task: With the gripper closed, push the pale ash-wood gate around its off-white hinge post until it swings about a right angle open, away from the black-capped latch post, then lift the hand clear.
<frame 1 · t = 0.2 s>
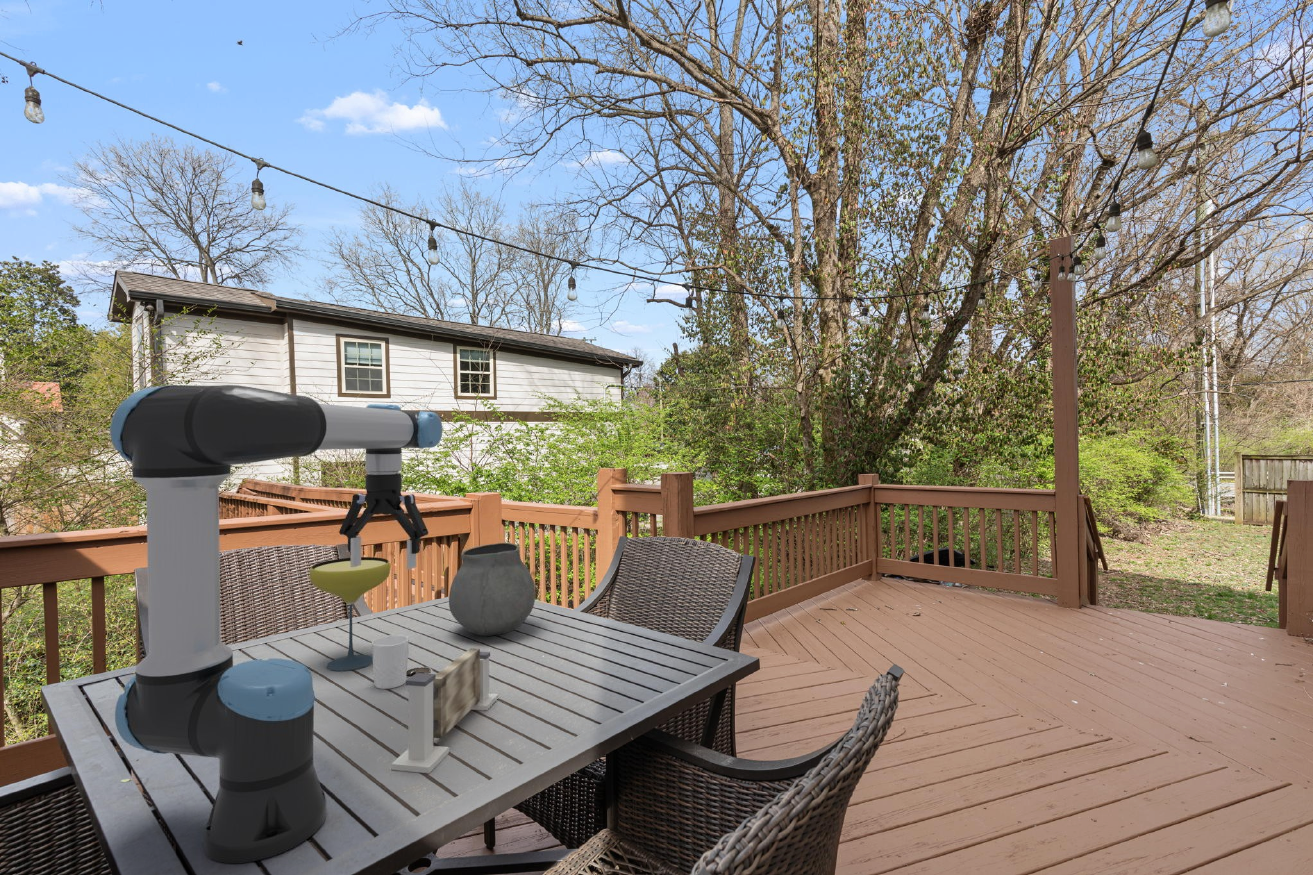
hand: (383, 567, 141), 28 cm above the table, tool pointing down, fingers open, 13 cm apart
white cup: (390, 684, 145), on the table
ceramic pot: (492, 633, 182), on the table
gate: (453, 693, 122), point 7 cm above the table, hinge at 0.0°
hinge post: (420, 760, 110), on the table
cocktail glass: (350, 664, 157), on the table
latch post: (479, 703, 134), on the table
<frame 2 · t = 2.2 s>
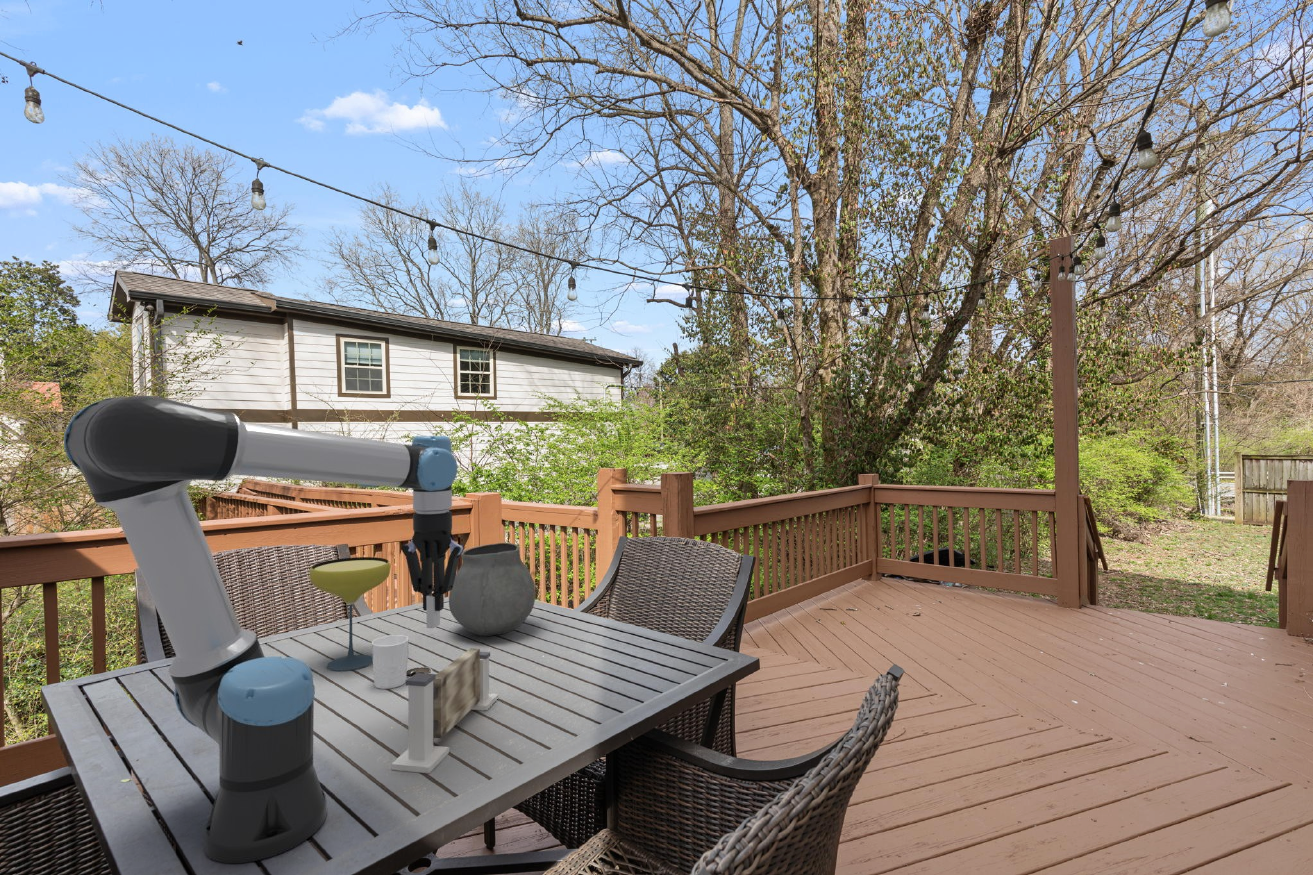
hand: (433, 626, 128), 18 cm above the table, tool pointing down, fingers closed
nothing on the table moved.
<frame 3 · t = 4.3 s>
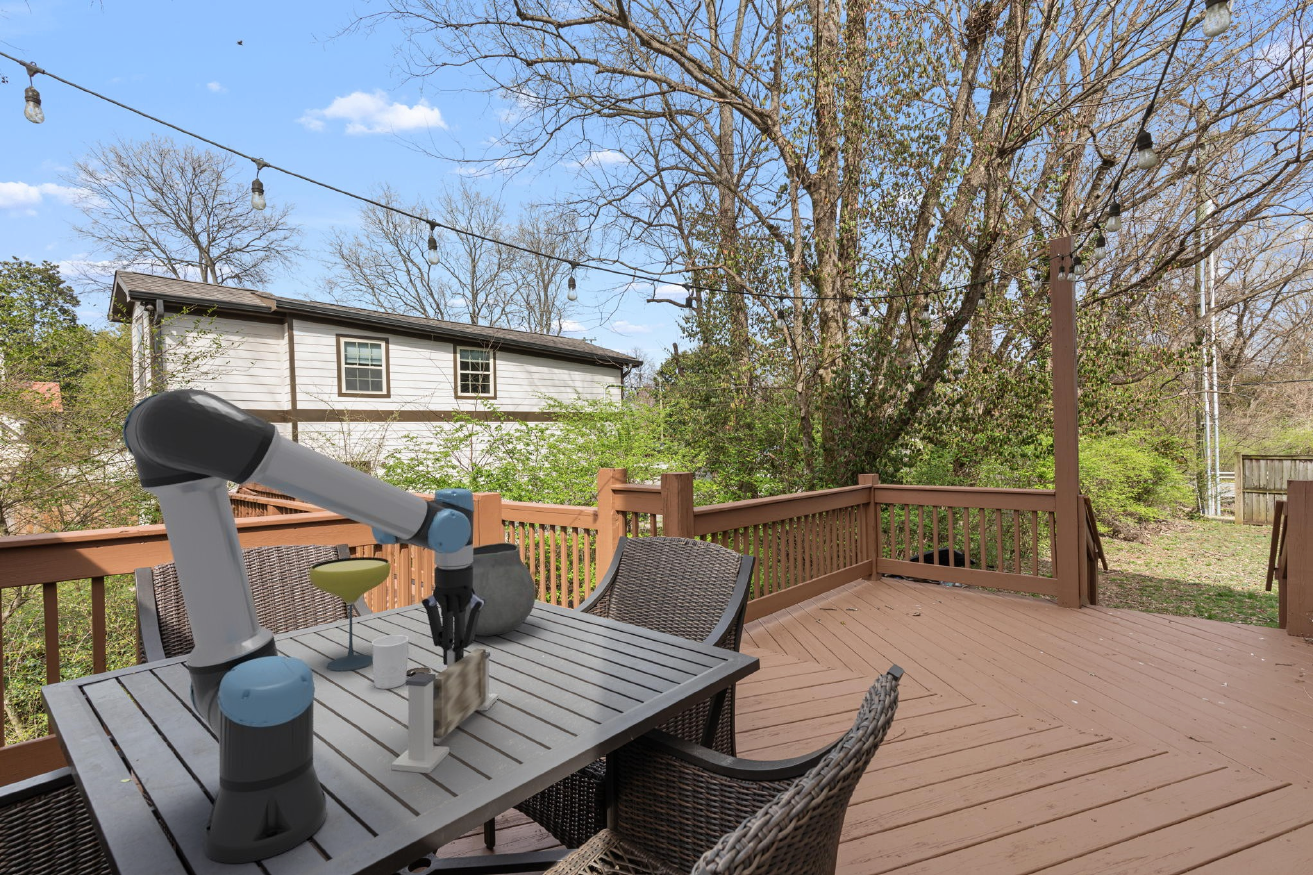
hand: (453, 680, 127), 7 cm above the table, tool pointing down, fingers closed
gate: (456, 693, 122), point 7 cm above the table, hinge at 4.1°, touching gripper
everything else where it was.
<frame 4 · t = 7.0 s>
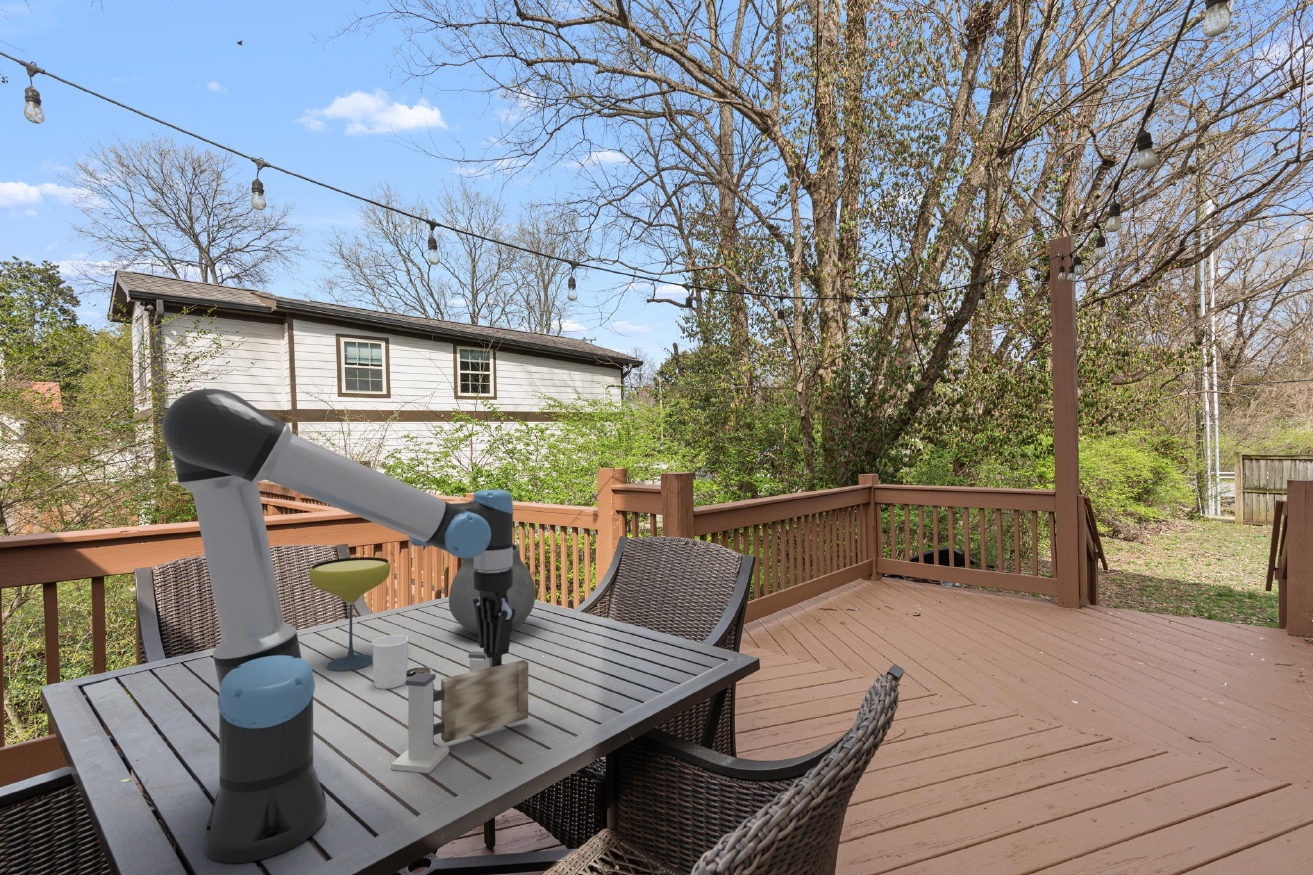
hand: (493, 686, 124), 8 cm above the table, tool pointing down, fingers closed
gate: (477, 701, 119), point 7 cm above the table, hinge at 44.0°, touching gripper
everything else where it was.
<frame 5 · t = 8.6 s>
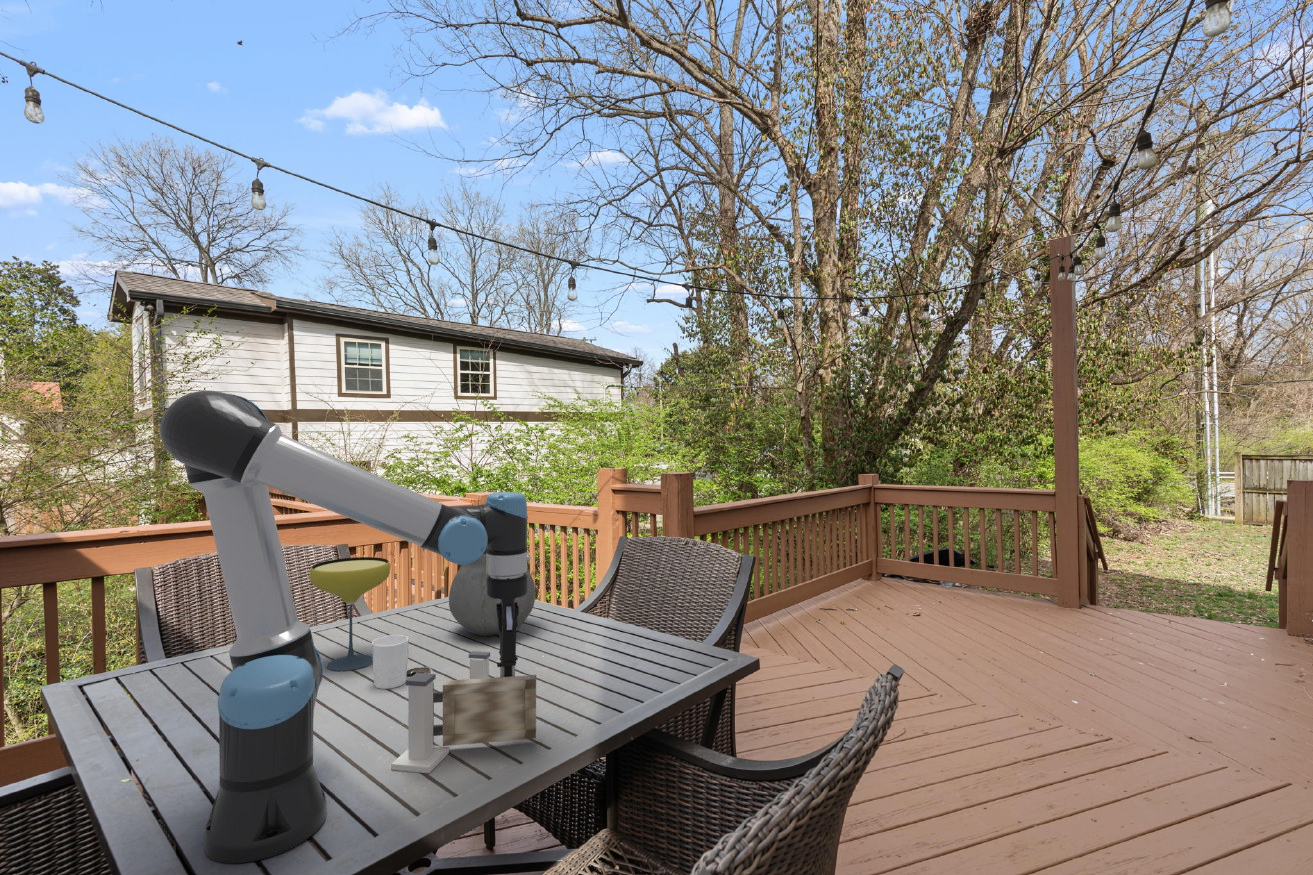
hand: (507, 697, 119), 8 cm above the table, tool pointing down, fingers closed
gate: (481, 710, 115), point 7 cm above the table, hinge at 70.5°, touching gripper
everything else where it was.
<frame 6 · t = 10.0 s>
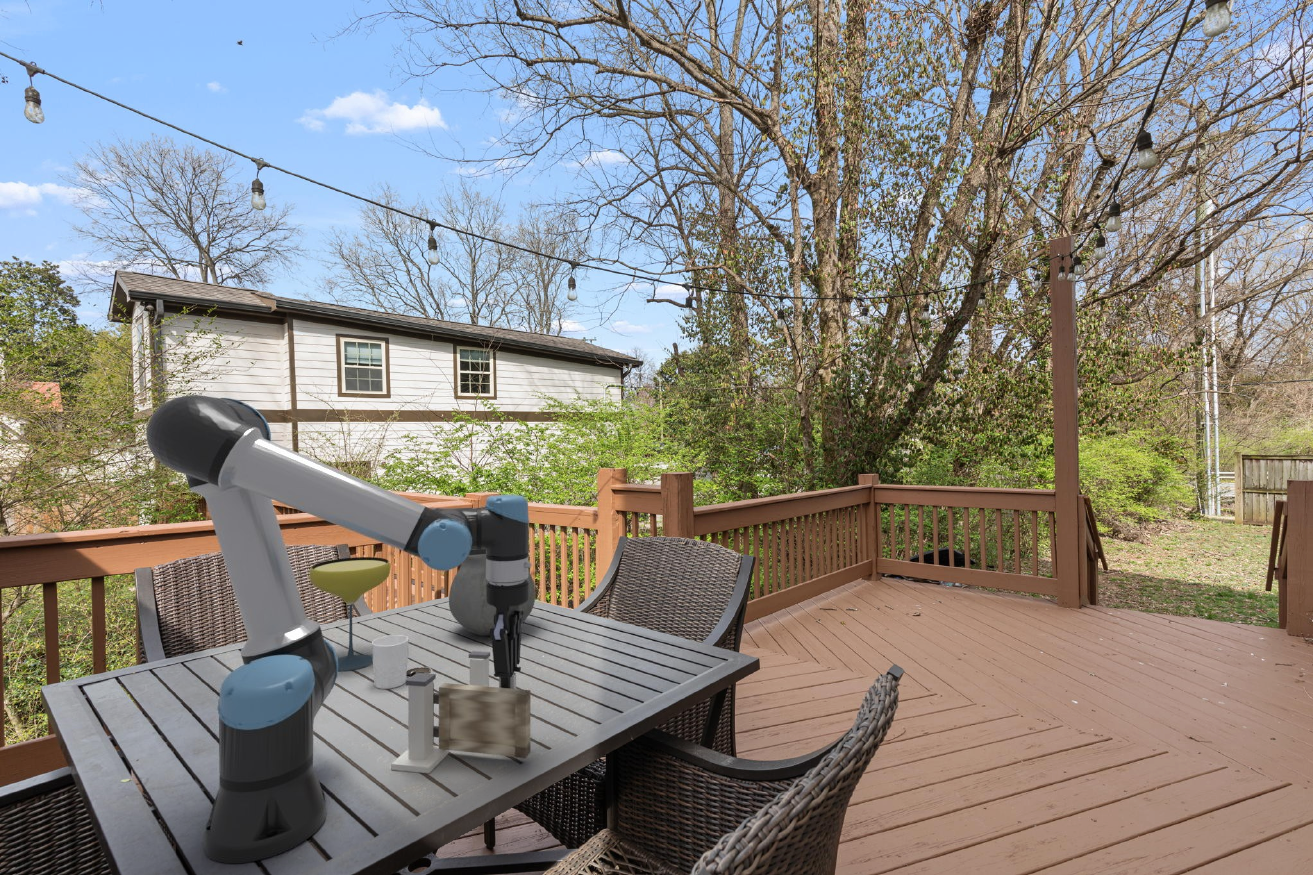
hand: (507, 709, 114), 8 cm above the table, tool pointing down, fingers closed
gate: (475, 718, 111), point 7 cm above the table, hinge at 92.0°, touching gripper
everything else where it was.
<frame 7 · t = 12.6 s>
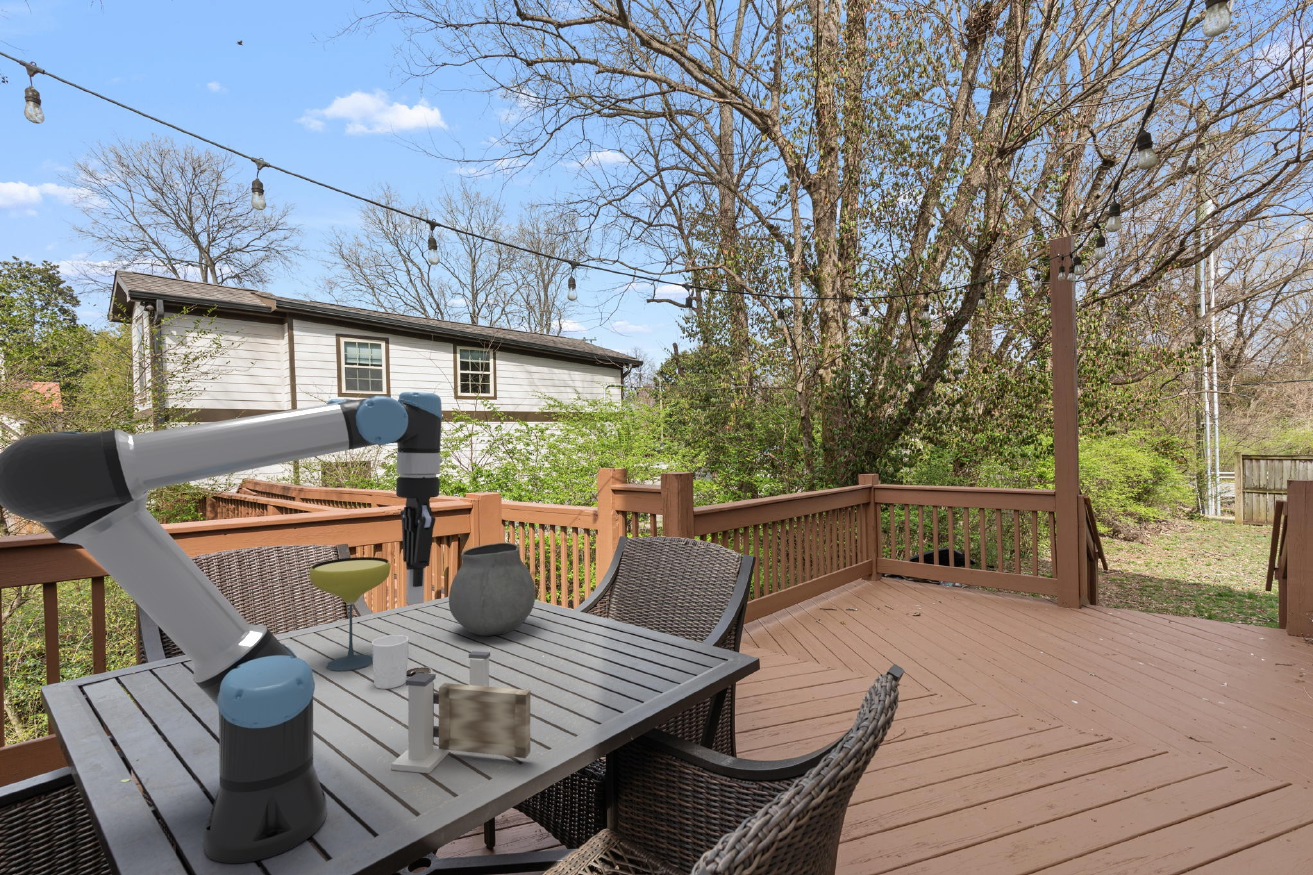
hand: (414, 602, 116), 26 cm above the table, tool pointing down, fingers closed
gate: (475, 718, 111), point 7 cm above the table, hinge at 92.1°
everything else where it was.
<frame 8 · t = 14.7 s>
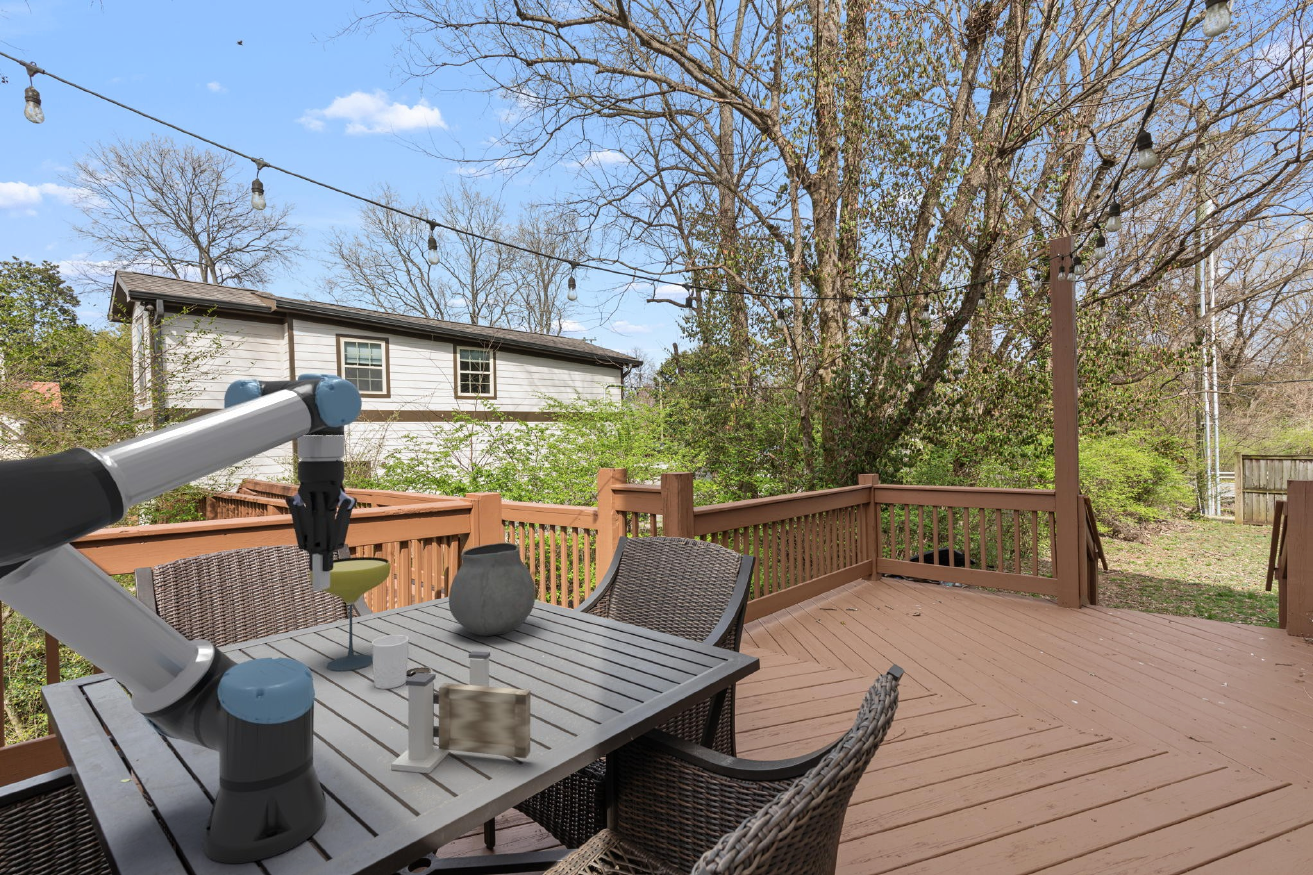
hand: (321, 588, 114), 29 cm above the table, tool pointing down, fingers closed
nothing on the table moved.
at the end: gate at +92° (first picture: +0°) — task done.
